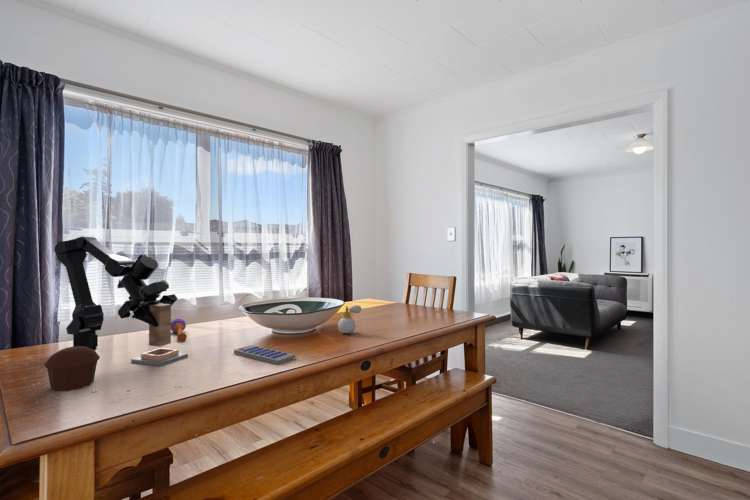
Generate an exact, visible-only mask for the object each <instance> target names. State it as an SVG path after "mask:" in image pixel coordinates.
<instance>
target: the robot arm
mask: <svg viewBox="0 0 750 500" xmlns="http://www.w3.org/2000/svg"><path fill="white" fill-rule="evenodd" d="M53 250H54V254H55V256H56V258H57V260H58V261H59V262H60V263H61V264H62V265H63V266H64V267H65V269H66V273H67V276H68V281H69V285H70V288H71V289H70V290H71V292H72V296H73V299H74V304H75V305H74V309H73V311H72V314H71V317H72V320H71V321H70V323H69V324H68V325H67V326H66V328H65V329H66V333H67V335H72V347H74V346H84V347H88V348H91V349H93V350H94V351H96V350H97V348H98V346H99V345H98V343H99V338H98V337H99V336H98V334H97V333H96V332H97V331H100V330H102V327H103V323H104V318H105V317H104V316H105V314H104V311H103V307H102V305H101V304H96V303H95V302H94V300H93V297H92V293H91V290H90V286H89V282H88V281H89V280H88V278H87V274H86V270H85V266H84V263H85V260H86V258H87V253H88V254H89V255H90V256H92V257H93V258H95V259H96V260H98V261H99V262H100V263H102V264H103V266H104V270H105V271H106V272H107V273H108V275H109V276H111V277H112V278H119V277H120V278H121V277H122V279H119V280H118V283H117V286H116V287H117V289H124V290H125V291H126V292H127V294H128V295H129V297H127V298H128V300H125V301H124V302H123V304H122V305H121V306H120V307H119V309H118V311H117V315H118V316H119V317H120V319H127V318H130V316H131V315H132V314H131V312H132V313H133V315H132V316H131V319H136V320H138V321H141V322H144V323H145V324H148V325H149V324H150V325H152V326H154V327H157V326H158V323H157V321H156V319H155V318H154V316H153V315H152V313H151V312H150V306H149V305H155V304H160V303H161V304H171V307H172V306H173V305H174V304H175V303H176V302H177V301H178V297H177V295H176V294H174V293H168V294H163V295H162V296H161V295H160V294H162V293H164V292H167V290H169V288H170V285H169V283H168V282H167V281H166V279H163V280H160V281H154V282H151V283H149V284H148V285H147V284H146V282H145V280H148V279H149V278H150V277H151V276H152V275H153V273H155V271H156V270H158V269H157V268H158V267H159V263H158V261H157V260H155V259H154V258H152V257H150V256H147V254H145V253H144V254H139V255H138V257H137V259H136V260H133V259H131V258H130V257H126V256H123V255H119V254H117V253H115V252H114V251H112V250H111V249H110V248H108V247H107V246H106V245H104V244H103V243H101V242H100V241H99V240H98V239H97V238H96V237H94V236H80V237H79V236H78V237H76V238H73V239H68V240H60V241H58V242H57V243H56V244H55V246H54V249H53ZM160 296H161V298H160ZM158 298H160V299H158Z"/></svg>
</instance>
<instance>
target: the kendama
mask: <svg viewBox="0 0 750 500" xmlns="http://www.w3.org/2000/svg"><path fill="white" fill-rule="evenodd" d="M186 327H187V324H186V322H185V320H184V319H183V318H175V319H173V320H171V332H173V333H177V340H178V342H183V341H184V342H185V341H186V339H187V338H188V337H187V336H188V335H187V334H186V333H185V332H184V330H185V329H186Z"/></svg>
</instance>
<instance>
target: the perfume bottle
mask: <svg viewBox="0 0 750 500" xmlns="http://www.w3.org/2000/svg"><path fill="white" fill-rule="evenodd" d="M344 309H345V311H344V312H343V316H342V318H340V319H339V321H338V323H337V327H338V328H337V329H338V330H339V332H340V333H342V334H343V333H346V334H345V335H348V334H347V333H350V334H352V333H353V332H354V331H355V330H356V321H355V320H354V318H352V316H351V313H353V314H359V313H361V311H362V307H361V305H359V304H357V305H352V306H351V307H350V308H349V307H348V306H346V307H345V308H344Z"/></svg>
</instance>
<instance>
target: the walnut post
mask: <svg viewBox="0 0 750 500" xmlns="http://www.w3.org/2000/svg"><path fill="white" fill-rule="evenodd" d="M149 306H150V312H151V313H152V315H153V316H154V318H155V319H156V321H157V323H158V326H157V327H154V326H152V325H150V324H148V346H149V347H158V348H162V347H164V346H167V345H171V344H172V331H171V322H172V306H171V304H161V303H160V304H155V305H149Z"/></svg>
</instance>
